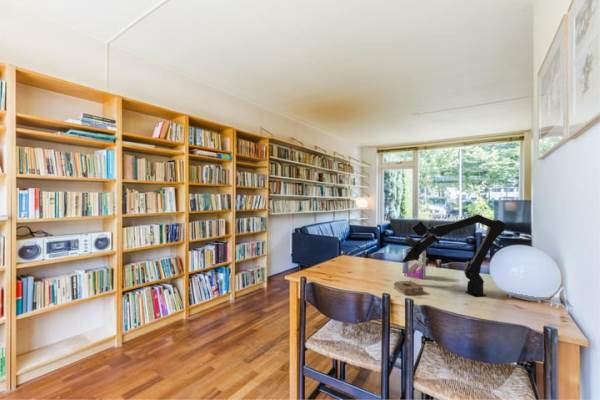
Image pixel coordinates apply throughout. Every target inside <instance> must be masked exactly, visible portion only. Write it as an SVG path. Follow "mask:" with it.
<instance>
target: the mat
mask: <svg viewBox="0 0 600 400" xmlns="http://www.w3.org/2000/svg"><path fill="white" fill-rule="evenodd" d="M398 282H413V283H415V284H417V285H419V286H421V287H422V285H420V284H418V283H416V282H415V281H412V280H398V281H395V283H398Z"/></svg>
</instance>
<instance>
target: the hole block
mask: <svg viewBox="0 0 600 400" xmlns="http://www.w3.org/2000/svg"><path fill="white" fill-rule="evenodd" d="M413 282H414V281H412V282H398V283H396V282H394V283H393V290H395V291H397V292H399V293H400V294H402V295H404V296H413V295H424V287H422V285H421V286H419V285H420V284H419V285H417V284H418V283H417V284H415V283H416V282H414V283H413Z"/></svg>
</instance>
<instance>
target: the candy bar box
mask: <svg viewBox="0 0 600 400" xmlns="http://www.w3.org/2000/svg"><path fill="white" fill-rule="evenodd" d="M426 259H427V251H426V250H425V251H424V252H422V254H421V255H420V257H419V259H418V260H411V261H408V273H407V274H406V273H403V274H404V277H409V278H413V279H418V280H425V279H426V278H427V277H426V276H427V275H426V274H427V273H426V272H427V271H426V269H427V268H426V266H427V264H426V263H427V260H426Z"/></svg>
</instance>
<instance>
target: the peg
mask: <svg viewBox="0 0 600 400" xmlns="http://www.w3.org/2000/svg"><path fill="white" fill-rule="evenodd" d="M408 250H409V248H402V260H403V259H404V258H405V257H406V255H407V254H408ZM404 273H406V274H407V273H408V262H404V263H403V262H402V274H404Z"/></svg>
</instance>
